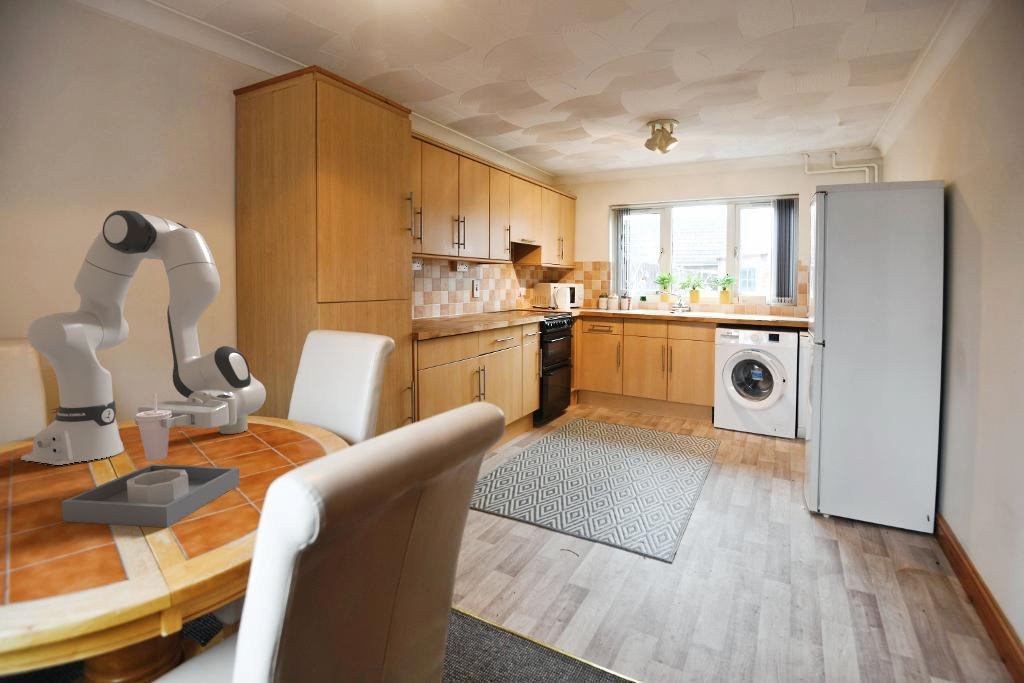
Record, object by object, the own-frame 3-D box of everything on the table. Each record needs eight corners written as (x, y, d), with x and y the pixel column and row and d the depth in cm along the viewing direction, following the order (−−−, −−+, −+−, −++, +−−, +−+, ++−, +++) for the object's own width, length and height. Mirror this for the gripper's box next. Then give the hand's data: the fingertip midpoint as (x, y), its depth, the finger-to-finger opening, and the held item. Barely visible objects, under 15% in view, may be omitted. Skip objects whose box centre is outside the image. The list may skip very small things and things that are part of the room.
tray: (63, 521, 101) (61, 495, 100) (152, 480, 123) (151, 458, 122) (167, 527, 99) (165, 501, 98) (239, 484, 120) (238, 462, 120)
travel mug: (239, 435, 161) (237, 377, 159) (214, 434, 161) (211, 377, 159) (252, 428, 169) (250, 373, 167) (228, 427, 169) (225, 373, 167)
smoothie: (156, 463, 106) (151, 396, 105) (130, 461, 107) (125, 395, 106) (182, 453, 112) (177, 390, 111) (157, 452, 114) (152, 389, 112)
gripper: (170, 392, 124) (112, 404, 111) (240, 397, 118) (187, 411, 105) (172, 418, 124) (114, 433, 111) (242, 424, 119) (189, 441, 106)
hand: (150, 422), depth 108 cm, fingers closed on smoothie, 6 cm apart
